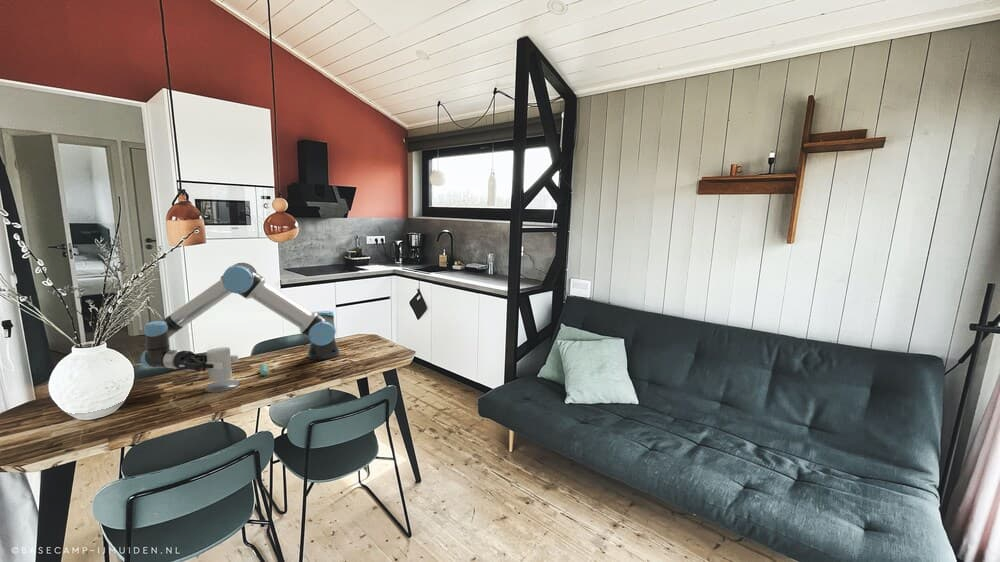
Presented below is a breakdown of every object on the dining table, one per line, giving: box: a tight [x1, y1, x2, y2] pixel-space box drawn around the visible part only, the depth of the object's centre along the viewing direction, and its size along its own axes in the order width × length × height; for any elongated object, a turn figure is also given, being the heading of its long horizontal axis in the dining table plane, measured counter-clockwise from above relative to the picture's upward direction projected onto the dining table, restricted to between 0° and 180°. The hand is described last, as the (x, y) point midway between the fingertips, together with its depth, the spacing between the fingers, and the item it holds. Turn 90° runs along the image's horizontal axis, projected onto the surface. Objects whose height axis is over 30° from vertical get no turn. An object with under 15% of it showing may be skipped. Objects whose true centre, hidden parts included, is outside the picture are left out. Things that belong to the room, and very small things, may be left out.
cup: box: [206, 346, 233, 383], centre depth 175 cm, size 8×8×12 cm
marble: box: [260, 369, 269, 376], centre depth 190 cm, size 3×3×3 cm
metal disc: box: [204, 379, 240, 394], centre depth 177 cm, size 12×12×1 cm
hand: (229, 362), depth 175 cm, fingers closed on cup, 8 cm apart
